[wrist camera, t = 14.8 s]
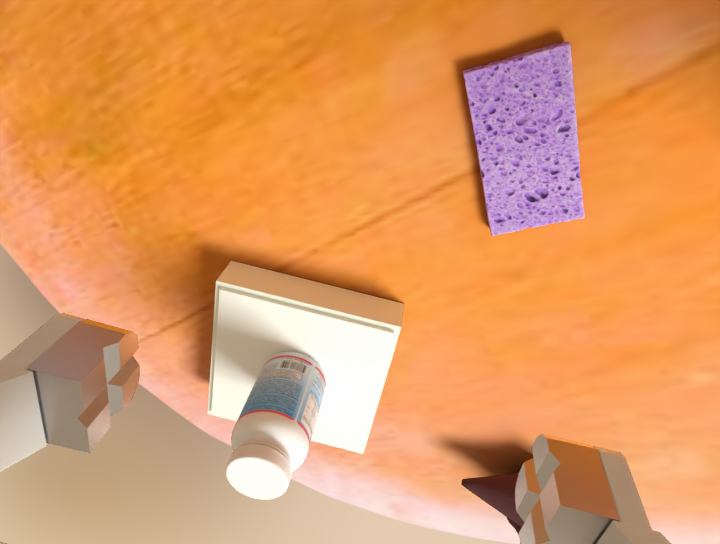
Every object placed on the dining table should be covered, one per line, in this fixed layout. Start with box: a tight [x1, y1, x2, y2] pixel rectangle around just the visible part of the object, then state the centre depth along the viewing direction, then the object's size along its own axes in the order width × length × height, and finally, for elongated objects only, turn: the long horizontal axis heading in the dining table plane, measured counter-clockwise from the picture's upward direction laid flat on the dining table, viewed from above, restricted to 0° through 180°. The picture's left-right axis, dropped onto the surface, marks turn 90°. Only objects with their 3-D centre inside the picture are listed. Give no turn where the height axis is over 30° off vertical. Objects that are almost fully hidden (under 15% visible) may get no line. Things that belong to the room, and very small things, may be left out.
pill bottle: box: [226, 352, 326, 500], centre depth 42 cm, size 6×6×11 cm
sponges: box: [463, 42, 585, 236], centre depth 37 cm, size 7×13×2 cm, turn 16°
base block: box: [208, 261, 404, 454], centre depth 49 cm, size 16×16×4 cm
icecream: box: [462, 473, 525, 534], centre depth 51 cm, size 7×7×15 cm
